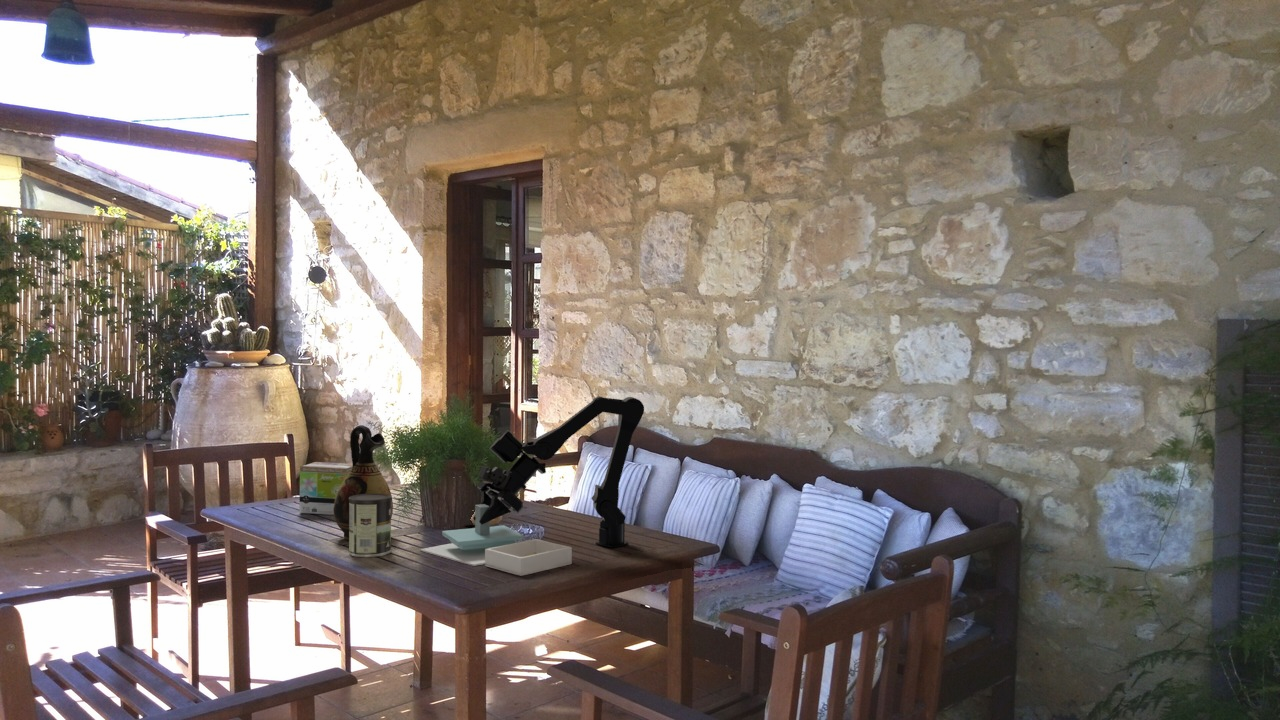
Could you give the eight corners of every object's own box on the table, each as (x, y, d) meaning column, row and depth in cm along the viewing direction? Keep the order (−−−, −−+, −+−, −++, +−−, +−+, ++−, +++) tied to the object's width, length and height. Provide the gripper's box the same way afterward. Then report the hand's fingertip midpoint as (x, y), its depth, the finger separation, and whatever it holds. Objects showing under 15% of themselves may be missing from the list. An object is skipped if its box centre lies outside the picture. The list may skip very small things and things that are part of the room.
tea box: (298, 514, 278) (298, 465, 277) (314, 508, 288) (314, 461, 287) (345, 516, 276) (346, 467, 275) (360, 510, 286) (360, 462, 285)
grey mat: (488, 537, 249) (488, 536, 249) (543, 551, 234) (543, 549, 234) (420, 550, 233) (420, 549, 233) (474, 566, 218) (474, 564, 218)
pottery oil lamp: (471, 520, 270) (483, 499, 271) (497, 539, 263) (510, 518, 264) (452, 514, 263) (464, 492, 264) (479, 534, 256) (492, 512, 257)
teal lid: (504, 534, 244) (504, 499, 243) (523, 545, 231) (523, 507, 231) (441, 540, 236) (442, 503, 235) (458, 552, 223) (458, 513, 223)
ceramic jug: (404, 537, 248) (405, 426, 247) (354, 546, 236) (355, 430, 235) (367, 528, 259) (368, 422, 258) (318, 537, 247) (319, 425, 246)
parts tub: (535, 554, 230) (535, 538, 230) (571, 563, 222) (571, 547, 222) (484, 565, 219) (485, 549, 218) (520, 575, 210) (521, 558, 210)
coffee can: (385, 546, 237) (385, 492, 237) (395, 555, 228) (396, 498, 228) (344, 550, 232) (344, 494, 232) (353, 559, 223) (353, 501, 223)
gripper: (484, 450, 243) (444, 495, 238) (511, 459, 227) (468, 507, 222) (512, 478, 247) (472, 522, 242) (540, 488, 231) (498, 536, 226)
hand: (477, 521), depth 233 cm, fingers closed on teal lid, 4 cm apart
